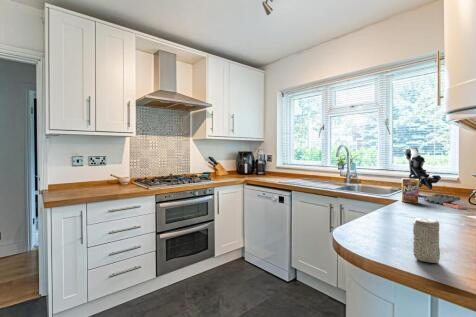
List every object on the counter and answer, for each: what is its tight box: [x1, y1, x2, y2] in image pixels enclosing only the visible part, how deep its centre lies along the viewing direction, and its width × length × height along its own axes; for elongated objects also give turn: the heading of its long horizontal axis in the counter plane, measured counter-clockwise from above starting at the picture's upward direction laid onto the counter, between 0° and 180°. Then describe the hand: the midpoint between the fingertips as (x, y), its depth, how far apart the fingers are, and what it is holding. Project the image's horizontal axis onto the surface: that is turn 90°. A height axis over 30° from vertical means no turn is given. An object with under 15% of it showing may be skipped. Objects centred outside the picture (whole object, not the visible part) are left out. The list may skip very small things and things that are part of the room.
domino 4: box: [438, 196, 462, 205], centre depth 150 cm, size 2×5×10 cm
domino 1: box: [424, 193, 444, 202], centre depth 162 cm, size 2×5×10 cm
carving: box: [412, 217, 441, 264], centre depth 72 cm, size 6×8×12 cm
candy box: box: [400, 178, 420, 204], centre depth 161 cm, size 9×4×15 cm, turn 60°
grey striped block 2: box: [428, 194, 449, 203], centre depth 158 cm, size 2×5×10 cm
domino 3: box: [433, 195, 455, 204], centre depth 154 cm, size 2×5×10 cm
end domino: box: [442, 202, 467, 210], centre depth 147 cm, size 2×5×10 cm
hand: (431, 189), depth 164 cm, fingers closed
